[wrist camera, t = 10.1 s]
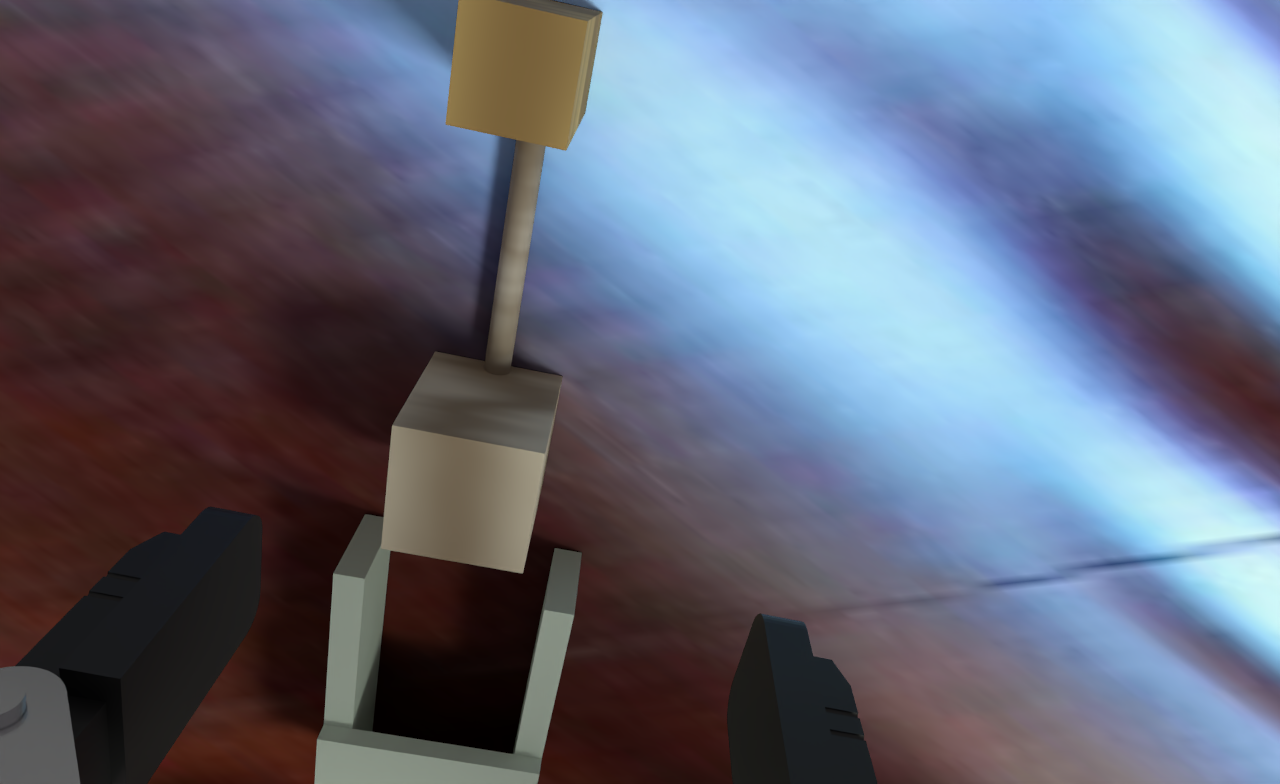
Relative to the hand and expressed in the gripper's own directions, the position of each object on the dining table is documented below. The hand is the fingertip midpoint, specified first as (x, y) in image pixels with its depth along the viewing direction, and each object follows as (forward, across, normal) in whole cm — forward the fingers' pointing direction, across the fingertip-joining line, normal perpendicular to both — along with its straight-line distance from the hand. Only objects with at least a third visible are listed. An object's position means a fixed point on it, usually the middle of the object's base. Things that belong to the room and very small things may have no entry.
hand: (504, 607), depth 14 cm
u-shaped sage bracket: (+20, +3, +20) cm, 28 cm away
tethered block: (+19, +3, 0) cm, 19 cm away
